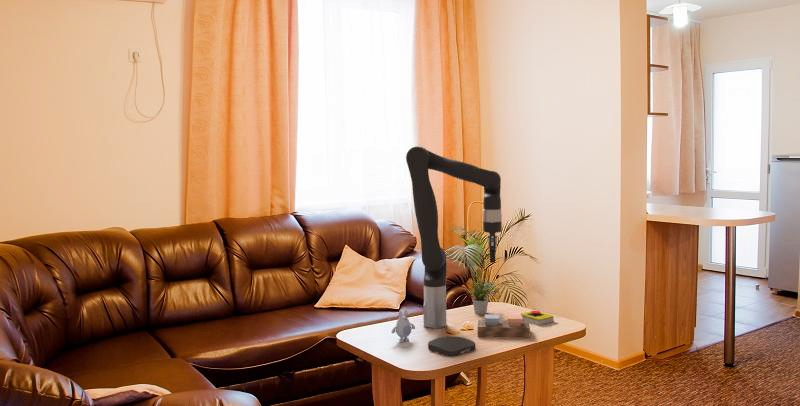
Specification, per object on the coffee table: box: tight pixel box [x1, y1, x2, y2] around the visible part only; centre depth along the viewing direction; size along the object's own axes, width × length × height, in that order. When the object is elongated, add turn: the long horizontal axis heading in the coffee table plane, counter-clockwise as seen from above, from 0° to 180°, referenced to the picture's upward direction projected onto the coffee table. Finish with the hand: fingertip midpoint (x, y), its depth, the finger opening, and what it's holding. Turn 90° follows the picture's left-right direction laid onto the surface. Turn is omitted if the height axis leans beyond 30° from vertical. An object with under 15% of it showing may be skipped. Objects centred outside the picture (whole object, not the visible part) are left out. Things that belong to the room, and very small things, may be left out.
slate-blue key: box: [484, 313, 500, 325], centre depth 232 cm, size 6×6×4 cm
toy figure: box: [391, 309, 416, 343], centre depth 225 cm, size 11×6×12 cm, turn 121°
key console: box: [477, 319, 531, 339], centre depth 232 cm, size 20×10×4 cm, turn 81°
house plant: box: [467, 276, 496, 315], centre depth 261 cm, size 14×14×16 cm
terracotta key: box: [507, 314, 522, 326], centre depth 231 cm, size 6×6×4 cm
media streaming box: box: [427, 336, 476, 358], centre depth 215 cm, size 15×15×3 cm
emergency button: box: [520, 310, 558, 328], centre depth 248 cm, size 9×4×15 cm
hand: (492, 262), depth 239 cm, fingers closed
